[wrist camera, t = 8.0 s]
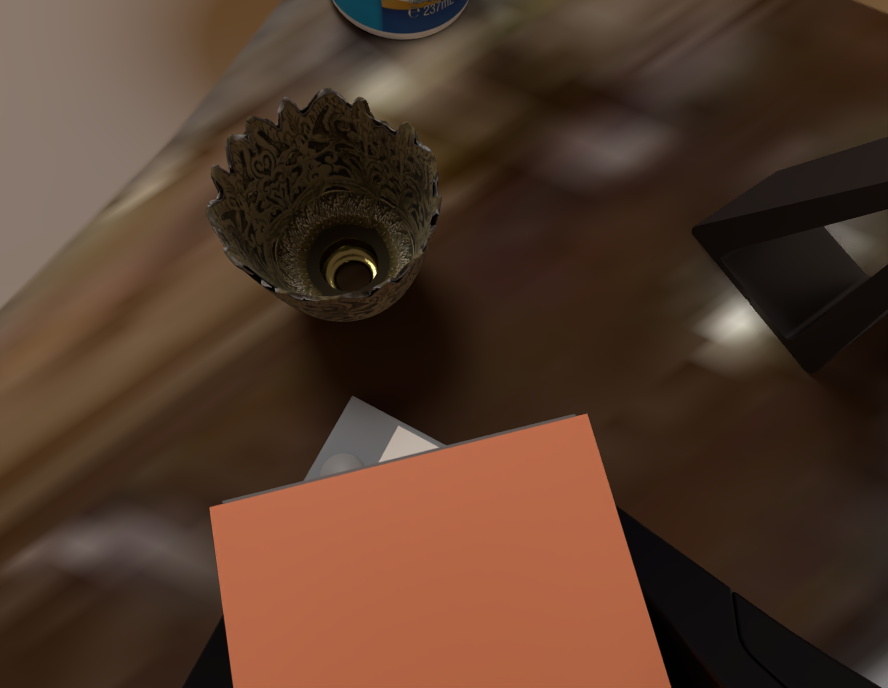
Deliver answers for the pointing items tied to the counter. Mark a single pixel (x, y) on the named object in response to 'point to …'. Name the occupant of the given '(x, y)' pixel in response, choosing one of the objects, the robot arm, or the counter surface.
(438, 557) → the block
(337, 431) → the breaker panel
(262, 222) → the cup
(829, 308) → the phone stand
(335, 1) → the beverage bottle
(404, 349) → the counter surface
